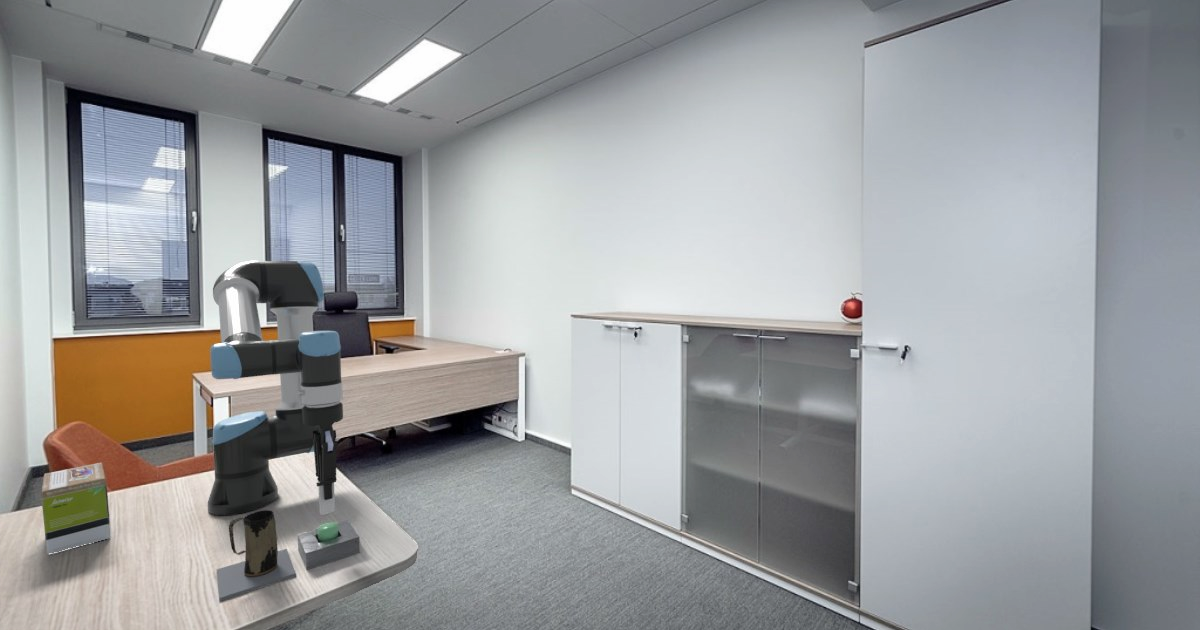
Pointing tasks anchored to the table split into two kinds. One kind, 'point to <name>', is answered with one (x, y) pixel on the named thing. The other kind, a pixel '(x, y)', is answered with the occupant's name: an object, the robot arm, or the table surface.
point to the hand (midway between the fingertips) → (327, 512)
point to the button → (327, 532)
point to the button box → (328, 546)
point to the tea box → (75, 507)
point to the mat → (238, 583)
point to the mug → (258, 543)
